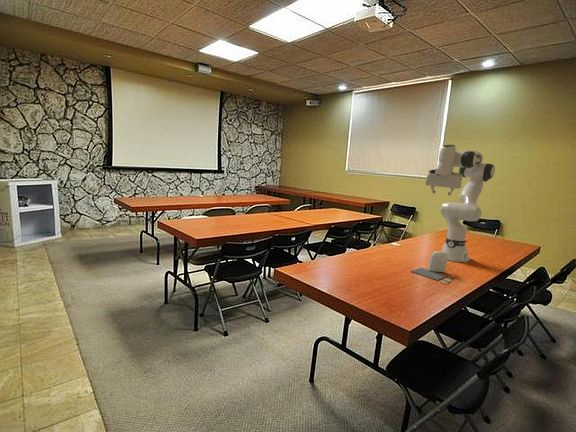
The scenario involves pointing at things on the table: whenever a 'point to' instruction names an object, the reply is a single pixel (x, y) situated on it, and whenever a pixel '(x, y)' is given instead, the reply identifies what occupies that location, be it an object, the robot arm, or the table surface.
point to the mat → (429, 274)
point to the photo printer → (438, 261)
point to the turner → (447, 280)
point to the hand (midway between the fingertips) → (441, 194)
